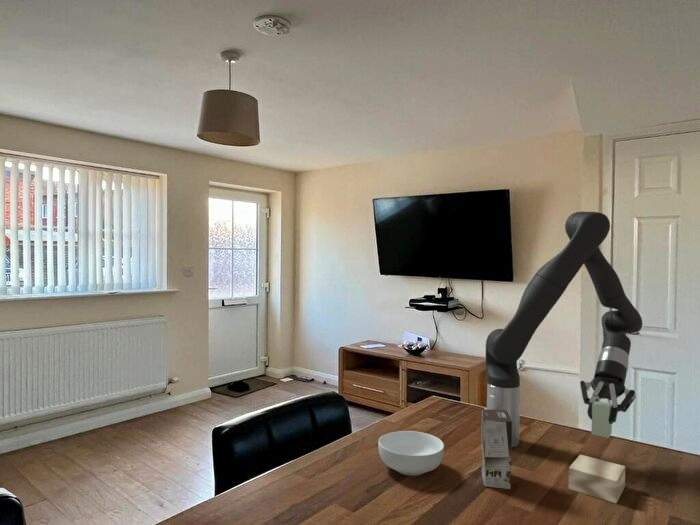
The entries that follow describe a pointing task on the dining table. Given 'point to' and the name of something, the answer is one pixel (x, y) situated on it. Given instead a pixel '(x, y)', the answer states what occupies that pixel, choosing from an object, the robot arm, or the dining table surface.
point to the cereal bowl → (411, 452)
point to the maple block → (597, 478)
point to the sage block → (601, 419)
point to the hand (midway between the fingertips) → (600, 419)
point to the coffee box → (496, 448)
